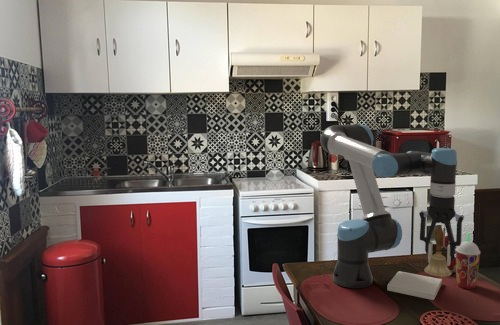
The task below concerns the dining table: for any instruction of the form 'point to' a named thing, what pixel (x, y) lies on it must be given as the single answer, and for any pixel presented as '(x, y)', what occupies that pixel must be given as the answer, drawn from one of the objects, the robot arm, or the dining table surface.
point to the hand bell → (438, 258)
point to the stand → (415, 285)
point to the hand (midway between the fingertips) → (439, 262)
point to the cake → (444, 252)
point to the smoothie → (467, 264)
